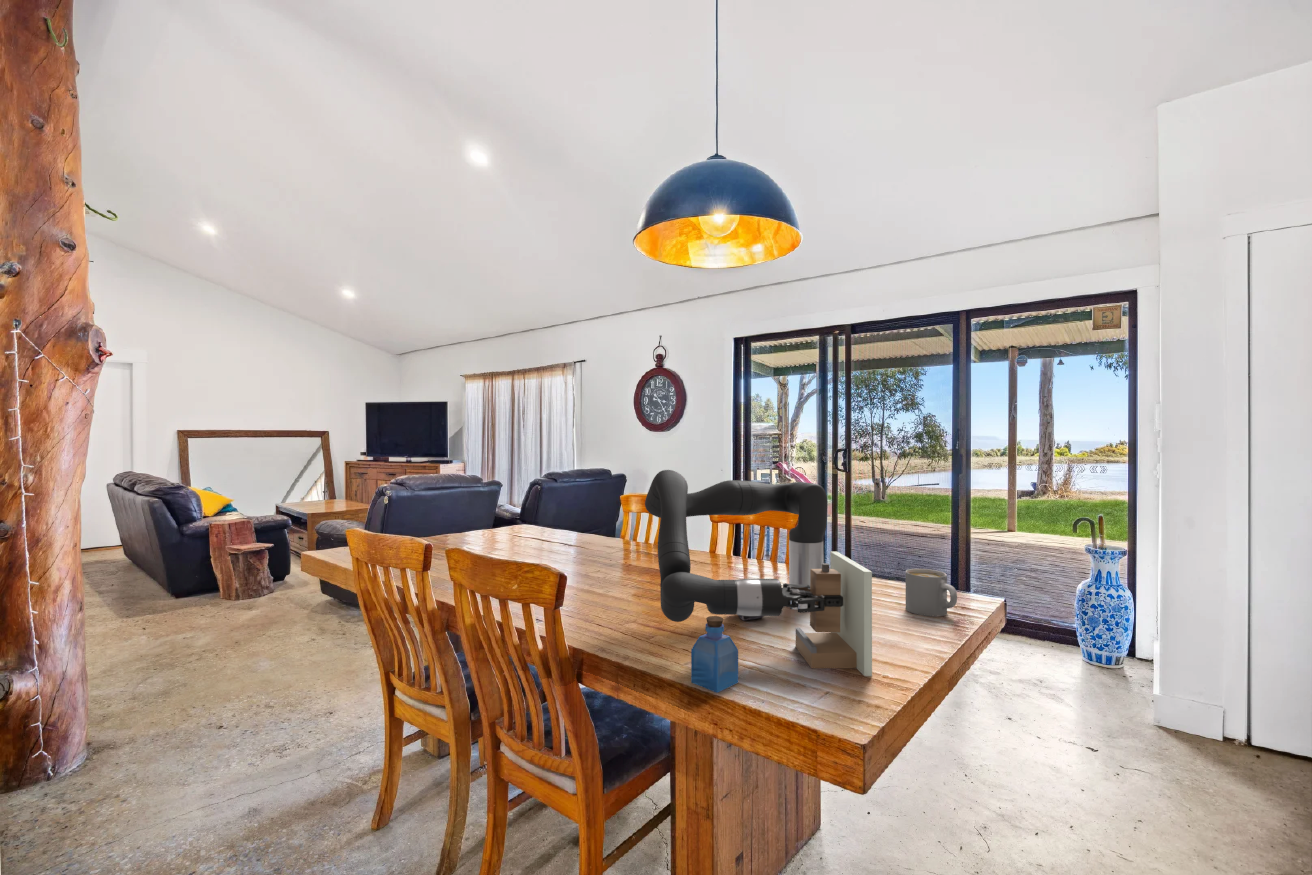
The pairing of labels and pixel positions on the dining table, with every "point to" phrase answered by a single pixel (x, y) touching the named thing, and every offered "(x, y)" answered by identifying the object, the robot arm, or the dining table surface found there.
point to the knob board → (825, 584)
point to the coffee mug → (928, 592)
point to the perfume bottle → (714, 658)
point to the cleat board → (844, 624)
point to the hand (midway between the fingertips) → (838, 597)
